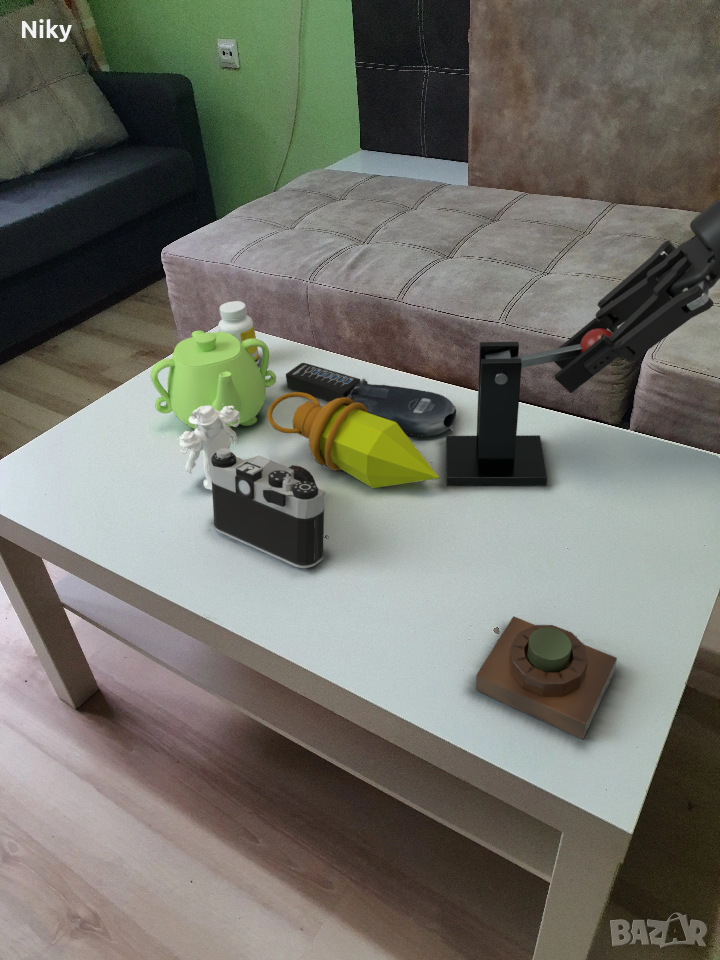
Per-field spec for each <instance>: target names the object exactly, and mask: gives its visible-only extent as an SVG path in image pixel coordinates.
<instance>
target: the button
mask: <svg viewBox="0 0 720 960" xmlns="http://www.w3.org/2000/svg"><path fill="white" fill-rule="evenodd" d="M570 653H571V641H570V639H569V638H568V636H567V635H566V634H565V633H563V632H562V631H560V630H558V629H555V628H549V627H545V628H540V629H537V630H535V631H534V632H533V633H532V634H531V635H530V638H529V644H528V659H529V661H530V662H531V664H532V665H533V666H534V667H536V668H537V669H539V670H541V671H544V672H558V671H561V670H563V669H564V668H565V667H566V666H567V665H568V663H569V659H570Z"/></svg>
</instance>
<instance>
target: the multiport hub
mask: <svg viewBox="0 0 720 960" xmlns="http://www.w3.org/2000/svg"><path fill="white" fill-rule="evenodd" d="M360 381H361V379H360V378H359V377H355V376H351V375H348V374H345V373H342V372H337V371H334V370H331V369H327V368H323V367H320V366H317V365H314V364H311V363H308V362H307V363H306V362H301V363H299V364H297V365H296V366H295V367H293V368H292V369H291V370H289V371H288V372H286V373H285V382H286V387H287V389H289V390H292V391H294V392H302V393H307V394H310V395H312V396H313V397H315V398H316V399H317V398H318V399H320V400H322V401H326V402H330V401H332V400H334V399H337V398H342V397H348V395H350V394H351V390H353V389H354V388H355V386H357V385H358V384H359V382H360Z"/></svg>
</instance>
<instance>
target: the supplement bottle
mask: <svg viewBox="0 0 720 960" xmlns="http://www.w3.org/2000/svg"><path fill="white" fill-rule="evenodd" d="M247 312H248V310H247V306H246V303H245V302H243V301H239V300H238V301H237V300H233V301H228V302H225V303H223V304H221V305H220V306H219V314H220V318H221V319H220V320H219V322H218V324H217V325H218V332H225V333H229V334H231V335H233V336H234V337H236V338H237V339H238V340H239V341H240V342H243V341H244V340H247V339H251V338H254V339H257V336H256V330H255V326H254V321H253V319H252V317H251V316H249V314H248V313H247ZM246 350H247V351H248V352H249V354H250V355H251V356H252V358H253V359H254V361H255V362H256V364H257V365H258V364H259V363H260V353H259V348H258V346H252V347H249V348H246Z"/></svg>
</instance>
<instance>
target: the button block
mask: <svg viewBox="0 0 720 960" xmlns="http://www.w3.org/2000/svg"><path fill="white" fill-rule="evenodd" d="M545 627H549V628H555V629H558V630H560V631H562V632H563V633H565V634H566V635H567V636H568V638H569V639H570V641H571V653H570V659H569V663H568V665H567V666H566V667H565V668H564V669H563V670H561V671H558V672H544V671H541V670H539V669H537V668H536V667H534V666H533V665H532V664H531V662H530V661H529V659H528V644H529V638H530V635H531V634H532V633H533V632H534V631H535V630H537V629H540V628H545ZM617 660H618V658H617V657H616V656H613V655H611V654H609V653H606V652H604V651H601V650H599V649H597V648H594V647H592V646H589V645H586V644H584V643H583V642H582V640H580V639H579V638H578V636H576V635H575V633H573V632H571V631H569V630H567V629H564V628H562V627H559V626H556V625H553V624H534V623H531V622H529V621H527V620H524V619H521V618H519V617H517V616H512V617H511V619H510V620H509V622H508V624H507V626H506V627H505V629H504V630H503V632H502V633H501V634H500V637H499V638H498V639H497V641H496V643H495V645H494V646H493V647H492V649H491V651H490V653H489V654H488V655H487V657H486V658H485V661H484V662H483V664H482V665H481V667H480V668H479V670H478V671H477V673H476V675H475V691H477V692H479V693H481V694H484V695H486V696H488V697H490V698H492V699H494V700H497V701H499V702H501V703H503V704H505V705H507V706H509V707H511V708H514V709H516V710H518V711H520V712H523V713H525V714H526V715H528V716H531V717H534V718H536V719H538V720H540V721H541V722H544V723H546V724H547V725H548V724H549V725H551V726H553V727H554V728H557V729H559V730H562V731H563V732H566V733H568V734H571V735H572V736H574V737H577V738H578V739H581V740H584V738H585V736H586V734H587V732H588V730H589V727H590V725H591V723H592V721H593V720H594V719H593V718H594V716H595V714H596V712H597V710H598V708H599V706H600V704H601V702H602V700H603V697H604V695H605V692H606V691H607V688H608V687H609V684H610V683H611V680H612V678H613V677H614V673H615V670H616V665H617Z"/></svg>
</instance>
